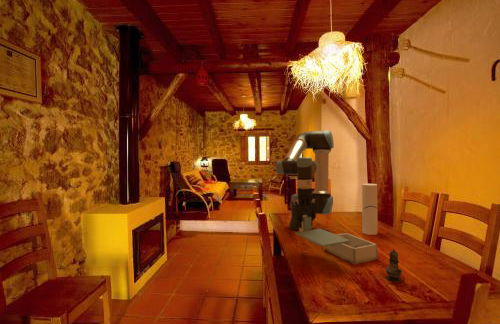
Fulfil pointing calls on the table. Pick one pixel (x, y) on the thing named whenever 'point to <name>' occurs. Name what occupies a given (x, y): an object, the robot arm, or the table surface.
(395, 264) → the dark statuette
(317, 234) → the lid
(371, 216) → the container
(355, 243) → the tub
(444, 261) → the table surface
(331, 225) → the table surface
